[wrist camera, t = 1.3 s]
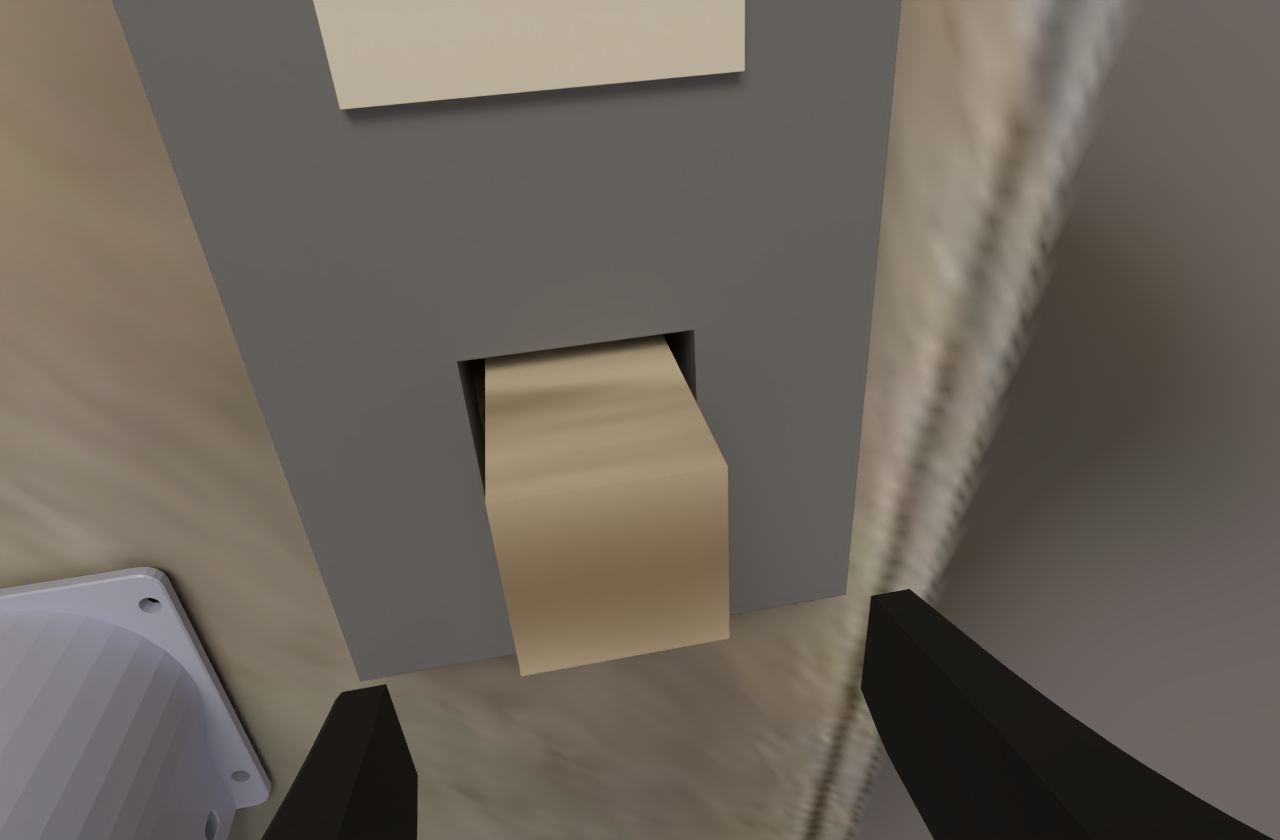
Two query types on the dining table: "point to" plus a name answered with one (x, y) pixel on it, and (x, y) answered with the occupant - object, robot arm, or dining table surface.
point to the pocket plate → (531, 258)
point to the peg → (604, 504)
